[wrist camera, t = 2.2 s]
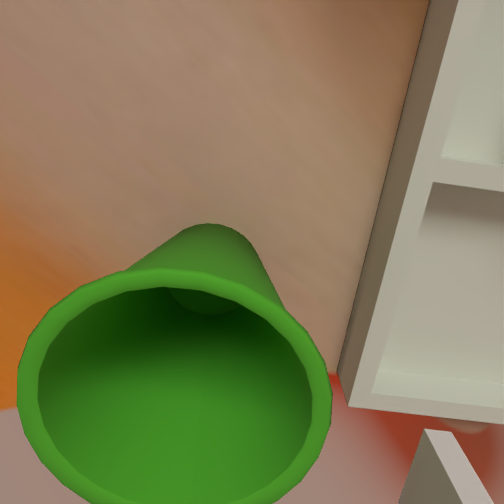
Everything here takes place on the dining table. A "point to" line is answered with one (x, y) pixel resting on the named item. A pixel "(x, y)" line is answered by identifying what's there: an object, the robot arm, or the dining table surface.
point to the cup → (176, 381)
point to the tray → (439, 234)
